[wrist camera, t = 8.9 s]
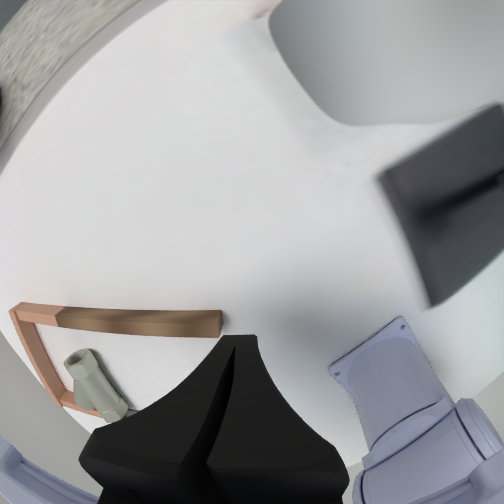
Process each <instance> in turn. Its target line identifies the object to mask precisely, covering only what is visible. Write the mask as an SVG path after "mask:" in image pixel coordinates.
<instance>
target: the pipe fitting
mask: <svg viewBox="0 0 504 504" xmlns="http://www.w3.org/2000/svg"><path fill="white" fill-rule="evenodd" d="M64 365H65V367H66V369H67V370H68V372H69V373H70V375H71V376H72V378H73V379H74V401H75V403H76V404H77V405H78V406H79V407H80V408H82V409H84V410H94V409H95V408H96V410H97V411H98V412H99V414H100V415H101V416H102V417H103V418H104V420H105V421H106V422H107V423H111V422H115V421H118V420H120V419H122V418H123V417H124V415H125V414H126V412H127V410H128V406H127V404H126V403H125V402H124V400H123V399H122V398H121V397H120V396H119V395H118V394H117V393H116V391H115V390H114V389H113V387H112V386H111V384H110V383H109V381H108V380H107V378H106V377H105V375H104V374H103V372H102V371H101V369H100V368H99V366H98V362H97V361H96V359H95V358H94V356H93V354H92V353H91V352H90V351H89V350H88V349H81V350H78V351H76V352H74V353H73V354H71V355H70V356H69V357H68V358H67V359H66V360H65V362H64Z"/></svg>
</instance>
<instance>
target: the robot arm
mask: <svg viewBox="0 0 504 504" xmlns="http://www.w3.org/2000/svg"><path fill="white" fill-rule="evenodd" d="M402 325H403V326H402ZM401 326H402V327H401ZM328 371H329V373H330V374H331V375H332V376H333V377H334V378H335V379H336V380H337V381H338V382H339V383H340V384H341V385H342V386H343V387H344V388H345V389H346V390H347V391H348V392H349V393H350V394H351V395H352V397H353V400H354V403H355V406H356V409H357V412H358V416H359V419H360V422H361V425H362V429H363V432H364V435H365V439H366V442H367V445H368V449H369V453H368V454H367V455H366V456H364V457H363V458H362V461H363V465H364V470H362V471H361V472H360V473H358V475H357V476H356V478H355V481H354V485H353V492H352V499H353V504H504V443H503V441H502V439H501V438H500V436H499V434H498V432H497V431H496V429H495V428H494V426H493V425H492V423H491V422H490V420H489V419H488V417H487V416H486V414H485V413H484V412H483V410H482V409H481V408H480V407H479V406H478V404H477V403H476V402H475V401H474V400H473V399H464V398H462V399H460V400H459V401H458V402H457V403H454V401H453V400H452V398H451V397H450V395H449V394H448V392H447V391H446V389H445V388H444V386H443V385H442V383H441V382H440V380H439V379H438V377H437V376H436V374H435V373H434V371H433V370H432V368H431V366H430V364H429V362H428V360H427V358H426V356H425V354H424V352H423V351H422V349H421V347H420V345H419V343H418V341H417V340H416V338H415V336H414V334H413V332H412V331H411V329H410V327H409V325H408V324H407V322H406V320H405V319H404V318H403V317H398V318H397V319H395V320H394V321H393V322H392V323H390V324H389V325H388V326H386V327H385V328H384V329H383V330H381V331H380V332H379V333H377V334H376V335H375V336H373V337H372V338H371V339H369V340H368V341H366V342H365V343H364V344H362V345H361V346H359V347H358V348H357V349H355V350H354V351H352V352H351V353H349V354H348V355H346V356H345V357H343V358H342V359H340V360H339V361H337V362H336V363H334V364H333V365H331V366H330V367H329V368H328ZM336 372H338V373H336ZM78 460H79V462H80V464H81V466H82V467H83V469H84V470H85V471H86V472H87V473H88V474H89V475H90V476H91V477H92V478H94V480H96V481H97V482H98V483H99V484H100V485H101V486H102V487H103V491H102V493H101V495H100V497H97V496H95V495H92V494H90V493H88V492H85V491H83V490H81V489H79V488H77V487H75V486H73V485H71V484H69V483H67V482H65V481H63V480H61V479H59V478H57V477H56V476H54V475H52V474H50V473H48V472H47V471H45V470H43V469H41V468H40V467H38V466H37V465H35V464H33V463H32V462H30V461H29V460H27V459H26V458H24V457H23V456H22V454H21V453H20V452H19V451H18V450H17V449H16V448H15V447H14V446H13V445H12V444H10V443H9V442H8V441H7V440H5V439H4V438H3V437H1V436H0V494H1V495H2V496H3V497H4V498H5V499H7V500H8V501H9V502H10V503H11V504H343V502H342V495H343V493H344V492H345V490H346V488H347V486H348V485H349V481H350V479H349V475H348V472H347V469H346V467H345V464H344V462H343V460H342V458H341V456H340V455H339V453H338V451H337V450H336V448H335V447H334V446H333V445H332V444H330V443H329V442H328V441H326V440H325V439H324V438H322V437H321V436H320V435H319V434H318V433H316V432H315V431H314V430H313V429H312V428H311V427H310V426H309V425H308V424H306V423H305V422H304V421H303V419H302V418H301V417H300V416H299V415H298V414H297V413H296V412H295V411H294V410H293V409H292V408H291V406H290V405H289V404H288V403H287V401H286V400H285V399H284V397H283V396H282V395H281V393H280V392H279V390H278V389H277V387H276V386H275V384H274V382H273V381H272V379H271V377H270V375H269V373H268V371H267V369H266V367H265V365H264V362H263V360H262V358H261V355H260V352H259V349H258V341H257V336H255V335H254V334H253V335H223V336H222V337H221V339H220V340H219V341H218V343H217V344H216V345H215V346H214V348H213V349H212V350H211V351H210V353H209V354H208V355H207V356H206V357H205V359H204V360H203V361H202V362H201V363H200V364H199V365H198V367H197V368H196V369H195V370H194V371H193V372H192V373H191V374H190V375H189V376H188V377H187V378H186V379H185V380H184V381H182V382H181V383H180V384H179V385H178V386H177V387H176V388H174V389H173V390H172V391H171V392H169V393H168V394H167V395H165V396H164V397H162V398H161V399H159V400H157V401H156V402H154V403H153V404H151V405H150V406H148V407H146V408H145V409H143V410H141V411H139V412H137V413H135V414H133V415H131V416H129V417H126V418H124V419H122V420H119V421H117V422H114V423H111V424H108V425H106V426H103V427H100V428H96V429H95V430H94V431H93V433H92V434H91V436H90V438H89V440H88V441H87V443H86V445H85V447H84V449H83V451H82V452H81V454H80V456H79V459H78Z"/></svg>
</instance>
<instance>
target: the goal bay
mask: <svg viewBox="0 0 504 504" xmlns="http://www.w3.org/2000/svg"><path fill="white" fill-rule="evenodd" d="M64 307H66V306H53V305H42V304H32V303H23V302H20V303H19V304H18V305H16V306H15V307H13V308H12V309H10V310H9V314H10V316H11V319H12V322H13V324H14V327H15V329H16V331H17V334H18V336H19V338H20V340H21V343H22V345H23V347H24V349H25V351H26V353H27V355H28V357H29V359H30V361H31V363H32V365H33V367H34V369H35V371H36V373H37V374H38V376H39V378H40V380H41V381H42V383H43V385H44V387H45V388H46V390H47V392H48V393H49V395H50V396H51V398H52V399H53V401H54V403H55V404H56V405H57V406H59V407H63V406H66V407H69V408H71V409H74V410H77V411H80V412H84V413H87V414H90V415H93V416H97V417H100V418H103V417H102V416H101V415H100V414H99V412H98V411H97V410H96V408H95V409H94V410H84V409H82V408H80V407H79V406H78V405H77V404H76V403H75V401H74V393H73V392H70V391H67V390H66V389H65V388H64V386H63V384H62V382H61V380H60V379H59V377H58V375H57V373H56V371H55V369H54V367H53V365H52V363H51V361H50V359H49V357H48V355H47V353H46V351H45V349H44V347H43V344H42V342H41V340H40V338H39V335H38V333H37V331H36V328H35V326H34V323H38V324H44V325H50V326H57V327H58V324H57V321H56V319H55V315H56V314H57V313H58V312H59V311H61V310H62V309H63V308H64Z"/></svg>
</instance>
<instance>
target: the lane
mask: <svg viewBox="0 0 504 504" xmlns="http://www.w3.org/2000/svg"><path fill="white" fill-rule="evenodd" d="M55 319H56V321H57V324H58V327H64V328H71V329H78V330H87V331H96V332H105V333H116V334H129V335H143V336H163V337H199V338H219V336H220V333H221V329H222V325H223V320H222V313H221V310H203V311H157V310H119V309H97V308H80V307H64V308H63V309H62V310H61V311H59V312H58V313H57V314H56V315H55ZM137 412H139V411H136V410H131V409H128V410H127V412H126V414H125V415H124V417H123V418H122V419H124V418H126V417H129V416H131V415H133V414H135V413H137ZM122 419H120V420H122ZM118 421H119V420H118ZM115 422H117V421H115ZM112 423H114V422H112Z"/></svg>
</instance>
